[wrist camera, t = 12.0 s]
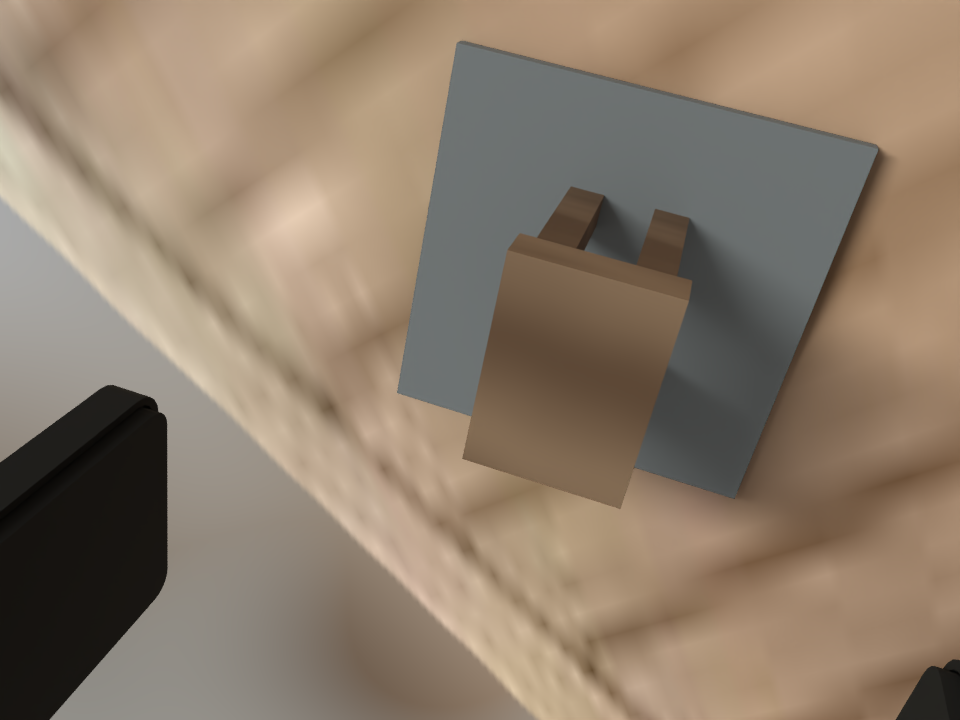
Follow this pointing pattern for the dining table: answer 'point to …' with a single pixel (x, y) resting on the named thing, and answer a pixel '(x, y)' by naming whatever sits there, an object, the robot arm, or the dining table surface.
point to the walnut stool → (578, 353)
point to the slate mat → (634, 237)
